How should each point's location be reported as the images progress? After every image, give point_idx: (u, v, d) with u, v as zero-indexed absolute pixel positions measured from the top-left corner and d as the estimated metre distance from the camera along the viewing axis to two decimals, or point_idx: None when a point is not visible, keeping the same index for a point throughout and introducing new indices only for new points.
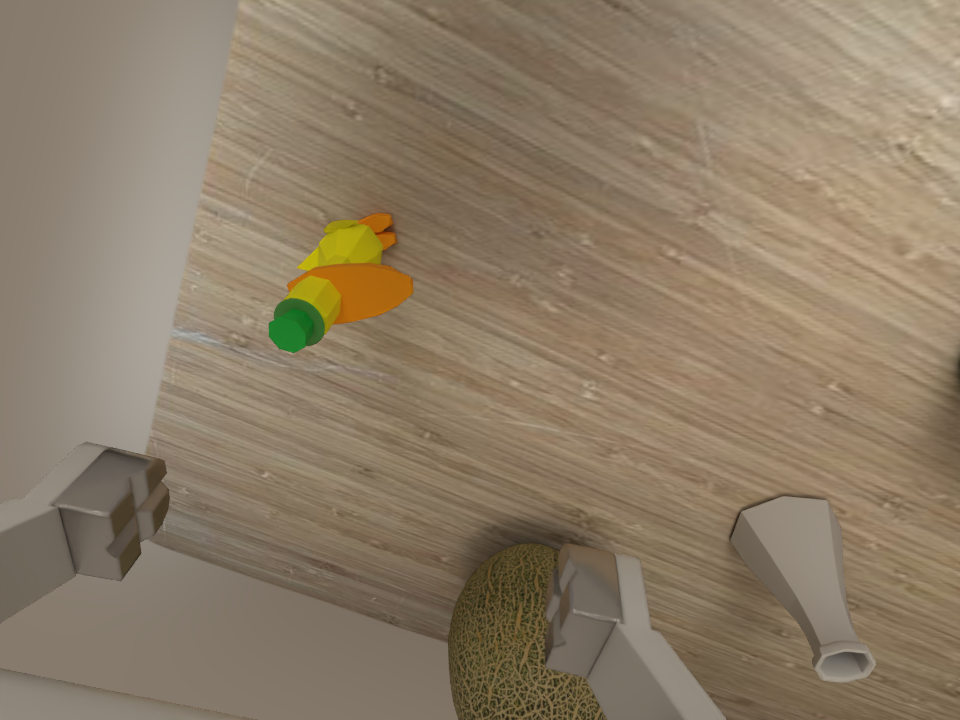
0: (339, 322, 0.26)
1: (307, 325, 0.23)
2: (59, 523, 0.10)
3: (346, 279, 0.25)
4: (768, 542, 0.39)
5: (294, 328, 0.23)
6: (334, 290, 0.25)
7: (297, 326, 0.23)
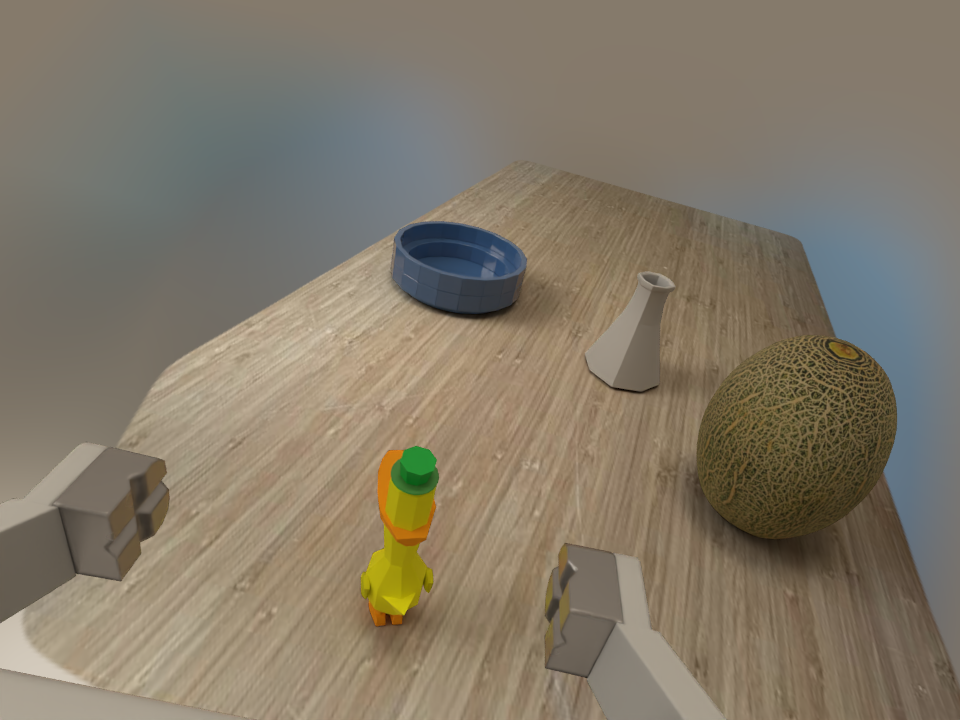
0: (432, 498, 0.29)
1: None
2: (59, 523, 0.10)
3: None
4: (619, 359, 0.55)
5: (411, 452, 0.26)
6: None
7: (409, 450, 0.26)
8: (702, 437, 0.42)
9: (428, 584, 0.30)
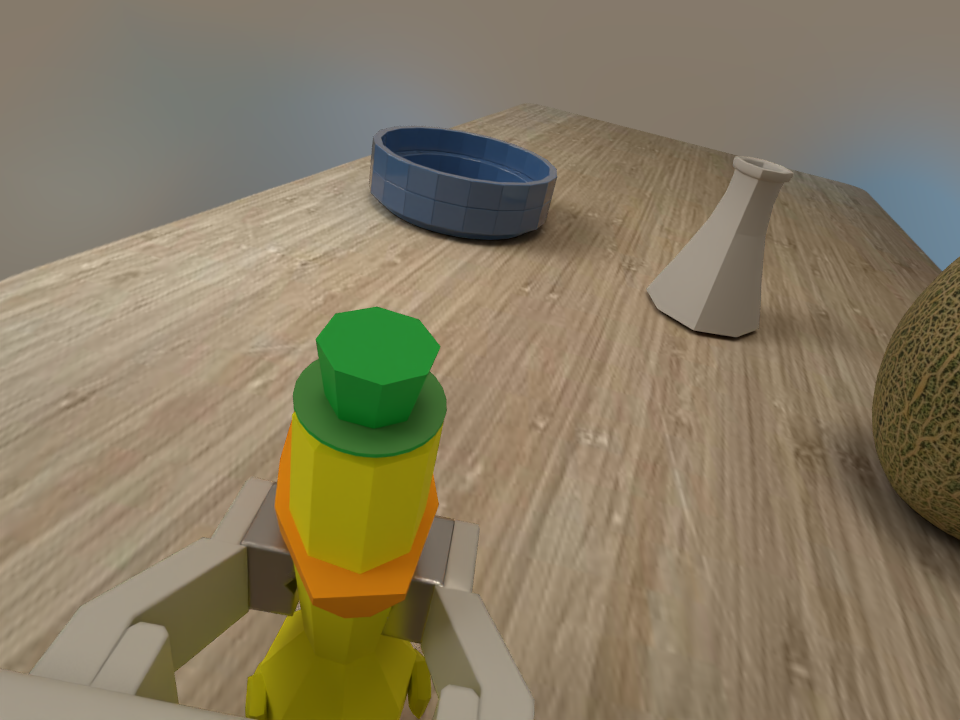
0: (431, 482, 0.11)
1: None
2: (245, 561, 0.10)
3: None
4: (705, 289, 0.37)
5: (358, 322, 0.08)
6: None
7: (353, 315, 0.08)
8: (900, 382, 0.24)
9: (417, 701, 0.12)
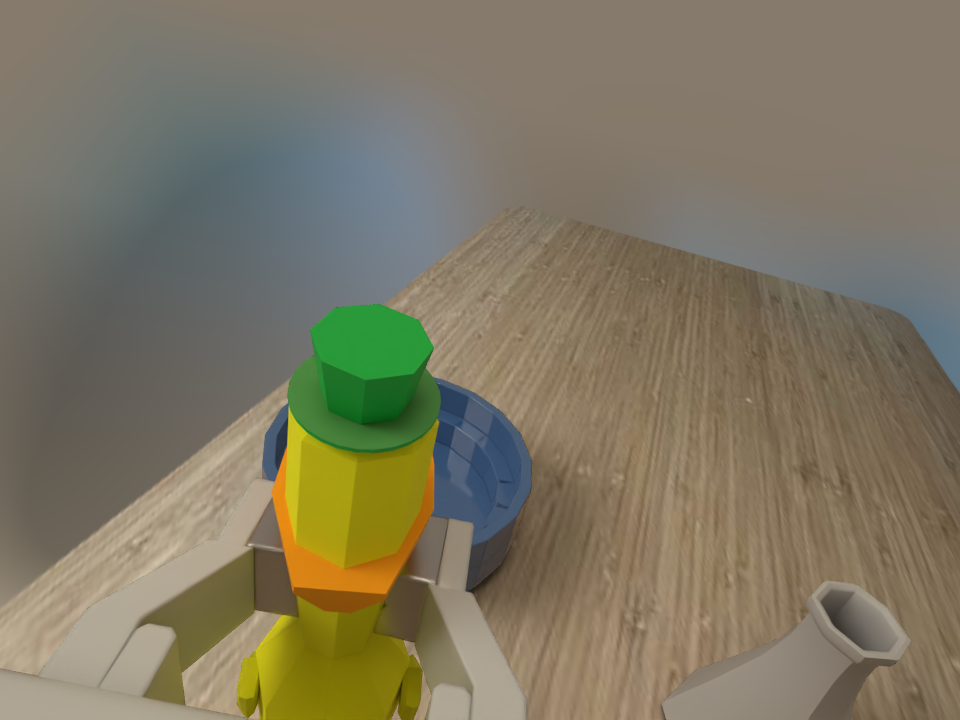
0: (430, 486, 0.10)
1: None
2: (252, 563, 0.10)
3: None
4: None
5: (357, 317, 0.08)
6: None
7: (353, 310, 0.08)
8: None
9: (405, 708, 0.12)
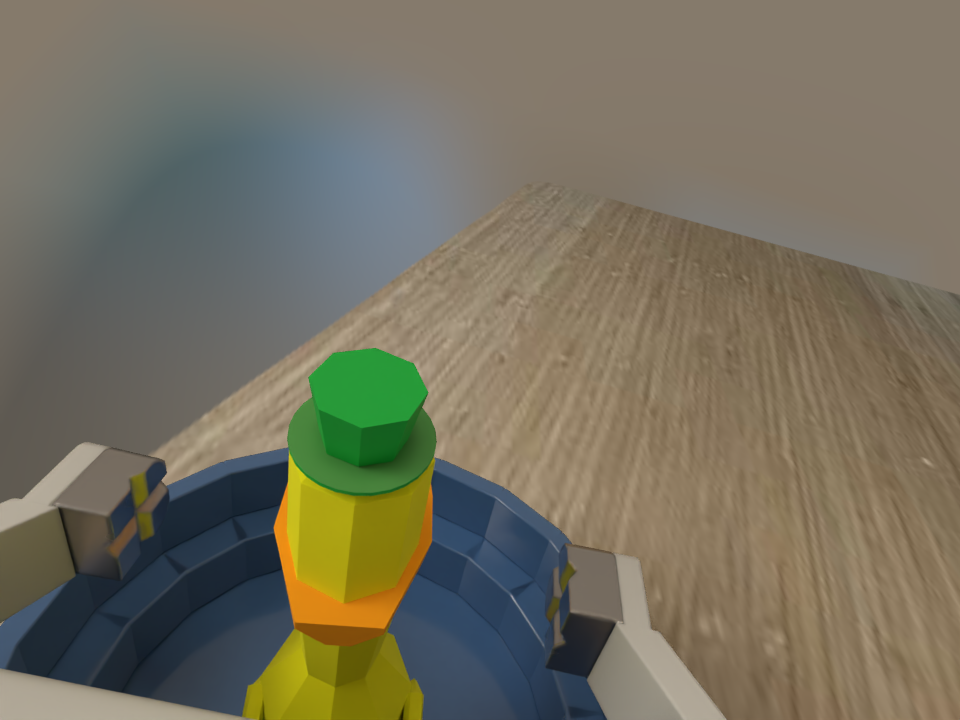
0: (429, 518, 0.11)
1: None
2: (59, 523, 0.10)
3: None
4: None
5: (354, 362, 0.08)
6: None
7: (350, 355, 0.09)
8: None
9: None
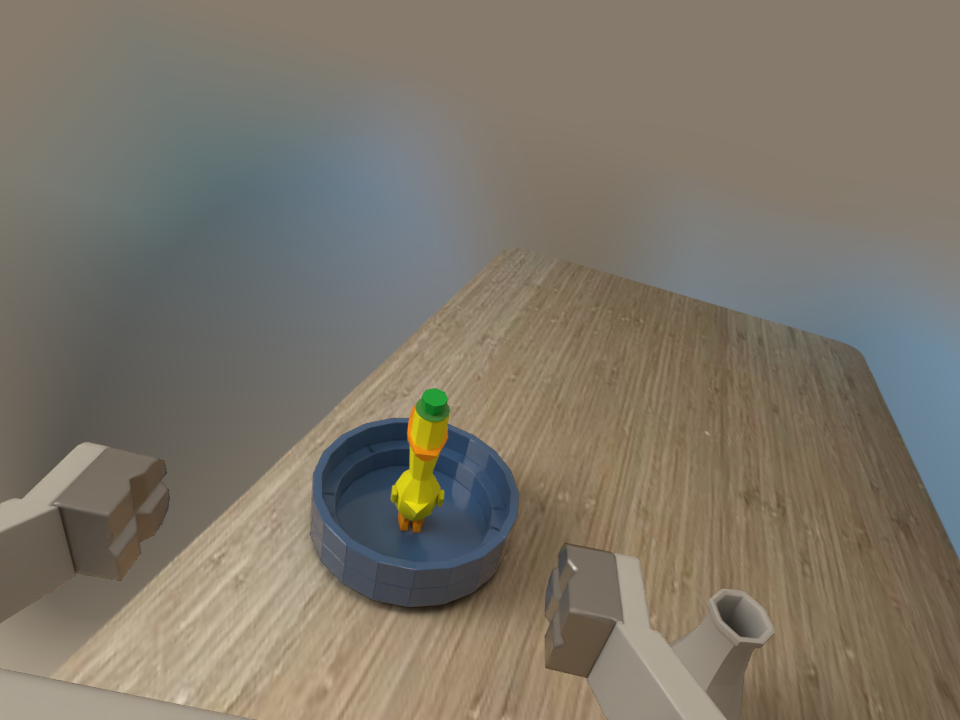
0: (447, 432, 0.39)
1: None
2: (59, 523, 0.10)
3: None
4: None
5: (431, 392, 0.37)
6: None
7: (430, 390, 0.37)
8: None
9: (439, 500, 0.41)
